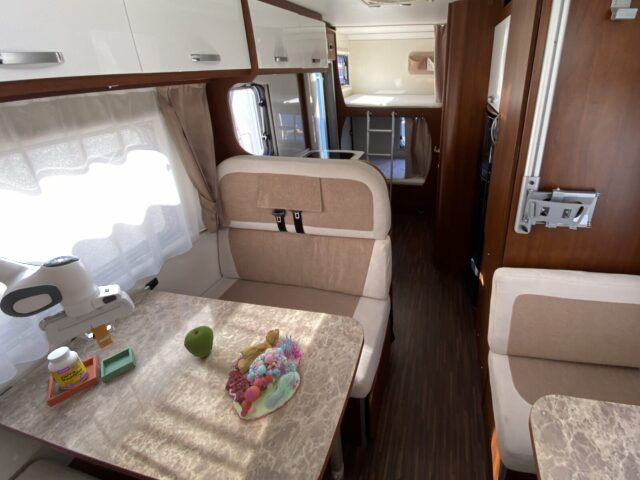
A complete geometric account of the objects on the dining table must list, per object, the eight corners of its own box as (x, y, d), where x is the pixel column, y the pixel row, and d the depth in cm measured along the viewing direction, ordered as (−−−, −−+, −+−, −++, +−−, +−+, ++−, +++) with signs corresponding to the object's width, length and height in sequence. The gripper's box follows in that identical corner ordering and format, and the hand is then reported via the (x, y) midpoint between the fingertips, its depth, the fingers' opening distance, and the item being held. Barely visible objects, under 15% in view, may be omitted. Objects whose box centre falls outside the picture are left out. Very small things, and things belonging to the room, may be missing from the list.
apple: (218, 340, 112) (210, 317, 108) (218, 358, 105) (209, 334, 100) (192, 350, 109) (182, 326, 104) (189, 369, 102) (179, 344, 97)
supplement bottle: (65, 394, 95) (45, 366, 90) (58, 384, 98) (39, 356, 93) (92, 377, 100) (75, 349, 95) (85, 367, 103) (68, 340, 98)
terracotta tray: (50, 407, 92) (46, 401, 91) (53, 381, 99) (50, 376, 98) (99, 382, 99) (95, 376, 98) (98, 360, 106) (95, 355, 105)
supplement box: (114, 341, 100) (102, 318, 96) (102, 349, 97) (88, 326, 93) (111, 337, 102) (98, 314, 98) (98, 344, 99) (85, 322, 95)
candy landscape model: (216, 375, 99) (209, 356, 95) (282, 332, 114) (278, 314, 110) (248, 435, 82) (240, 413, 79) (320, 375, 98) (316, 355, 94)
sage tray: (104, 382, 98) (101, 377, 97) (103, 366, 104) (100, 361, 103) (135, 366, 103) (132, 361, 102) (133, 351, 109) (130, 346, 108)
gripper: (33, 327, 84) (56, 361, 89) (125, 291, 97) (141, 323, 102) (36, 315, 88) (58, 348, 94) (124, 282, 101) (139, 313, 106)
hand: (102, 335), depth 98 cm, fingers closed on supplement box, 4 cm apart
